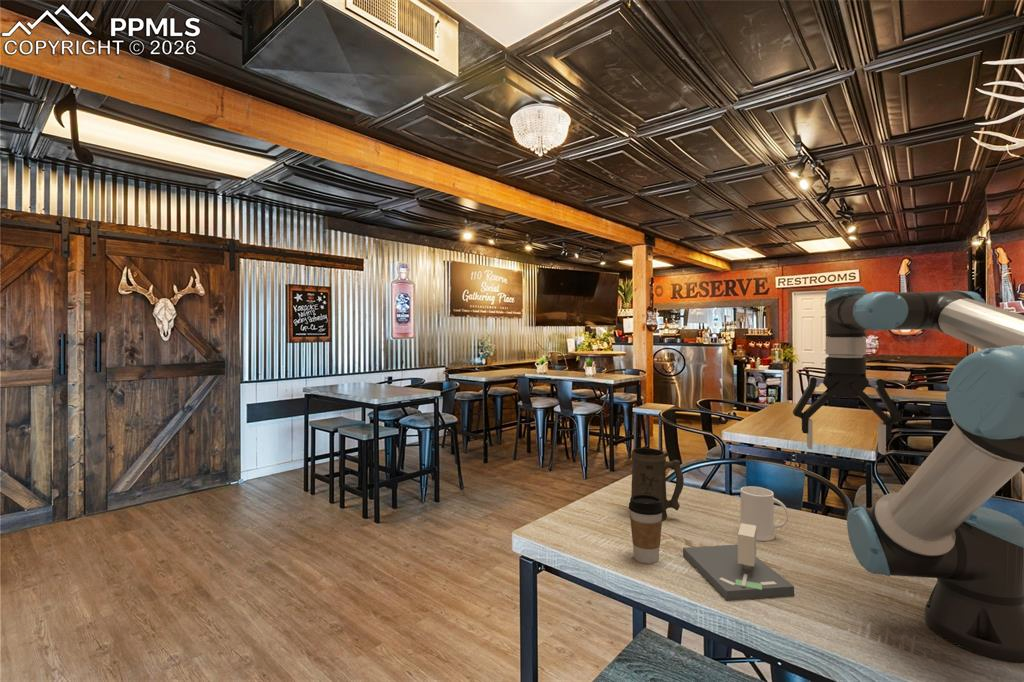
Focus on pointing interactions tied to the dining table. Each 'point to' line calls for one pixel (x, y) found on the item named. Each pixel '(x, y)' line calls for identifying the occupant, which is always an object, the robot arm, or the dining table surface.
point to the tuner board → (736, 573)
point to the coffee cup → (646, 527)
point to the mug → (760, 511)
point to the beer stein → (655, 476)
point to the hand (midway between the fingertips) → (844, 450)
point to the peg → (746, 548)
